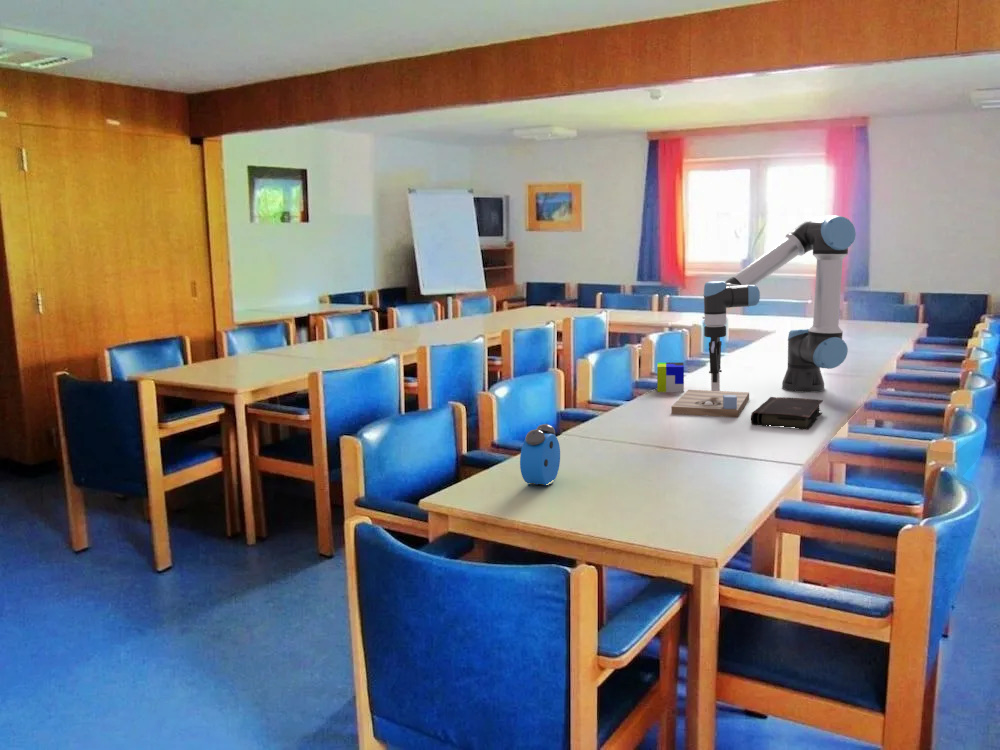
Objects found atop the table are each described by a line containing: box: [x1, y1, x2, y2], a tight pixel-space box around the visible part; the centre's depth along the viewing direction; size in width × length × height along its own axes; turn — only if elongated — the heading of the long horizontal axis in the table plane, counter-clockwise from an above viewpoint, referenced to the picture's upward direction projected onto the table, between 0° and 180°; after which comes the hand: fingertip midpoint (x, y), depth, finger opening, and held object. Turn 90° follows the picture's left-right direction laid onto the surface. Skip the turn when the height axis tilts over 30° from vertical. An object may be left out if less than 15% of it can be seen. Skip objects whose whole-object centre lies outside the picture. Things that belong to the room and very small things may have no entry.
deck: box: [671, 389, 750, 418], centre depth 290 cm, size 30×22×2 cm
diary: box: [750, 396, 824, 430], centre depth 267 cm, size 19×25×5 cm
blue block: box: [723, 395, 737, 409], centre depth 275 cm, size 4×4×4 cm
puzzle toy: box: [656, 362, 685, 393], centre depth 320 cm, size 10×10×10 cm
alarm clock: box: [519, 423, 561, 486], centre depth 208 cm, size 13×6×15 cm, turn 154°
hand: (715, 390), depth 294 cm, fingers closed
